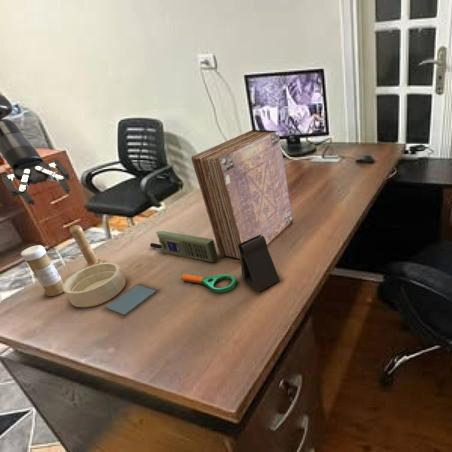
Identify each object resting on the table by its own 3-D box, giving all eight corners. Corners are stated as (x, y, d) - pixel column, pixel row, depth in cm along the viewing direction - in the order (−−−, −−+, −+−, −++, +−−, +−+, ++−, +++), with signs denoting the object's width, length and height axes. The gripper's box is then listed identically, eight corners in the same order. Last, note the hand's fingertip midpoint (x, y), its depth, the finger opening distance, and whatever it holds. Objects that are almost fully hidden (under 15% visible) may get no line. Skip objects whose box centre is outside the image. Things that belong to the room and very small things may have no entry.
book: (246, 263, 96) (218, 159, 82) (220, 257, 100) (189, 157, 86) (293, 220, 116) (278, 130, 101) (270, 217, 120) (252, 129, 105)
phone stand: (280, 281, 88) (271, 241, 82) (259, 293, 85) (248, 252, 79) (262, 267, 94) (253, 228, 88) (242, 277, 91) (231, 238, 85)
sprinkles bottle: (49, 289, 94) (23, 248, 88) (68, 283, 96) (44, 242, 89) (45, 299, 91) (17, 256, 84) (65, 293, 92) (40, 250, 86)
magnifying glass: (241, 279, 90) (239, 274, 89) (228, 294, 85) (226, 289, 85) (192, 273, 95) (190, 268, 94) (177, 287, 90) (175, 282, 89)
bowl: (91, 314, 84) (82, 298, 81) (61, 301, 89) (52, 286, 87) (136, 282, 93) (129, 267, 91) (107, 273, 99) (100, 258, 96)
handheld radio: (212, 264, 98) (148, 251, 107) (220, 258, 100) (156, 246, 110) (207, 243, 95) (141, 232, 104) (215, 237, 97) (150, 227, 107)
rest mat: (125, 315, 82) (124, 314, 82) (106, 308, 85) (105, 307, 85) (156, 291, 89) (156, 290, 89) (138, 285, 92) (137, 284, 92)
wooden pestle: (93, 272, 100) (70, 230, 93) (84, 269, 101) (62, 228, 95) (106, 264, 103) (85, 223, 96) (98, 262, 104) (76, 221, 98)
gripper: (-16, 153, 93) (17, 201, 92) (46, 138, 102) (77, 182, 101) (-8, 168, 99) (23, 214, 97) (50, 153, 108) (79, 194, 107)
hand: (51, 197), depth 99 cm, fingers open, 8 cm apart
